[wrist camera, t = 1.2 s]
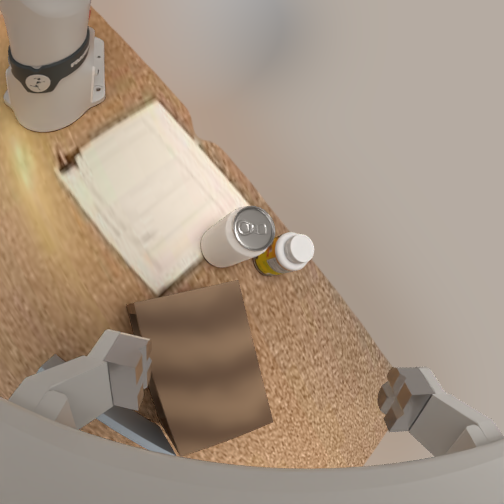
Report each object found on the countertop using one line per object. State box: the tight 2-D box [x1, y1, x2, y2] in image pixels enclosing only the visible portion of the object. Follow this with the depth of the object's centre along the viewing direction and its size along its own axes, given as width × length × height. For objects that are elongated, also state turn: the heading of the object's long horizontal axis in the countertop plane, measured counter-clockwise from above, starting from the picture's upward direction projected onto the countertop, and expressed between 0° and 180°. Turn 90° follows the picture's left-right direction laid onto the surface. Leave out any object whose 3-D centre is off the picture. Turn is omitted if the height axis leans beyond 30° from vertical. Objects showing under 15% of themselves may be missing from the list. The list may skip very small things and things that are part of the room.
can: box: [201, 206, 275, 267], centre depth 44 cm, size 6×6×12 cm
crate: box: [127, 280, 273, 456], centre depth 38 cm, size 18×12×12 cm, turn 15°
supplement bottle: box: [254, 232, 314, 276], centre depth 48 cm, size 6×6×10 cm
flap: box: [36, 354, 176, 456], centre depth 32 cm, size 18×1×10 cm, turn 55°
